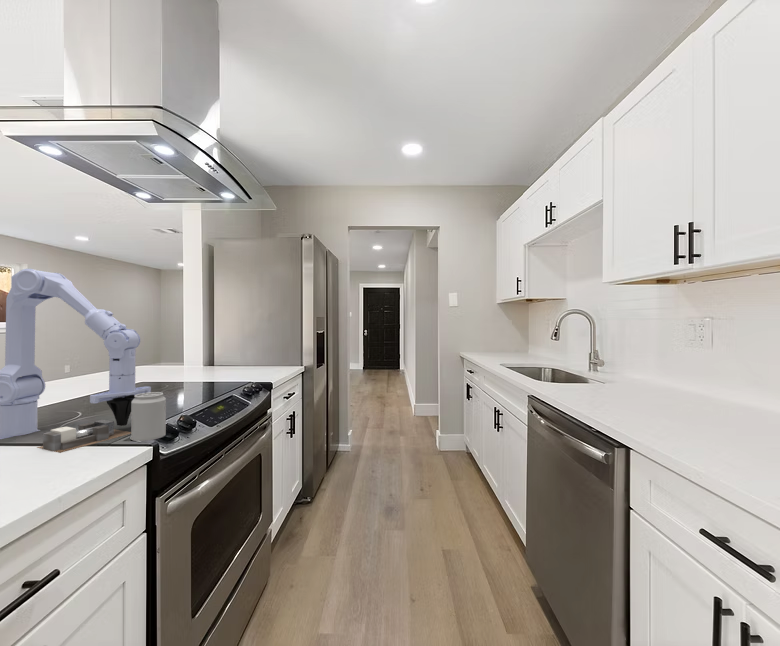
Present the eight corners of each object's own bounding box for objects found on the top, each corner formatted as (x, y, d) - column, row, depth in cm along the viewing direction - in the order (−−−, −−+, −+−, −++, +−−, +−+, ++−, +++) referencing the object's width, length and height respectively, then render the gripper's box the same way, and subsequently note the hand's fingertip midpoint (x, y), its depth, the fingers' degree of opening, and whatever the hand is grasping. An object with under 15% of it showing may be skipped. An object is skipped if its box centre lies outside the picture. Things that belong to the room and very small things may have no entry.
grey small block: (65, 442, 90) (65, 427, 90) (102, 432, 97) (102, 419, 97) (76, 444, 88) (76, 430, 88) (113, 434, 96) (113, 421, 96)
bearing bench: (36, 451, 86) (36, 432, 86) (111, 432, 102) (111, 415, 102) (60, 457, 83) (60, 437, 83) (133, 436, 98) (133, 419, 98)
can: (148, 446, 91) (149, 397, 91) (123, 443, 93) (123, 395, 92) (172, 436, 98) (172, 391, 98) (148, 434, 100) (148, 390, 100)
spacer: (50, 446, 87) (50, 429, 87) (65, 443, 90) (65, 426, 90) (60, 449, 85) (61, 431, 85) (75, 445, 88) (76, 428, 88)
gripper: (102, 379, 92) (102, 434, 92) (158, 372, 105) (157, 420, 105) (84, 377, 94) (84, 430, 94) (141, 370, 108) (140, 417, 108)
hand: (121, 424), depth 100 cm, fingers closed
